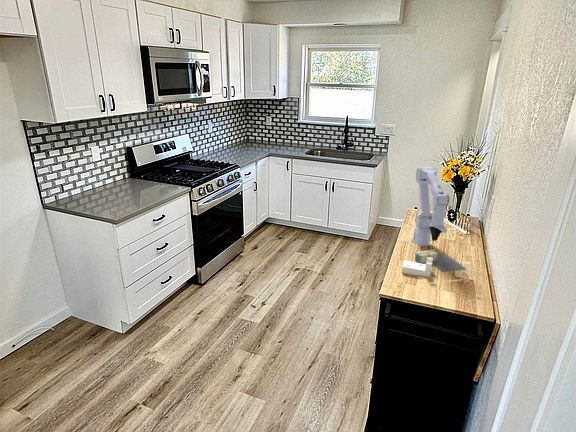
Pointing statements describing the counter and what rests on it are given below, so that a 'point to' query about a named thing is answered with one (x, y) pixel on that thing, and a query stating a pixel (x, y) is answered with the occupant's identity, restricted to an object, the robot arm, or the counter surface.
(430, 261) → the bracket
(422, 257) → the tall block
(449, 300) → the counter surface
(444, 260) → the mat
